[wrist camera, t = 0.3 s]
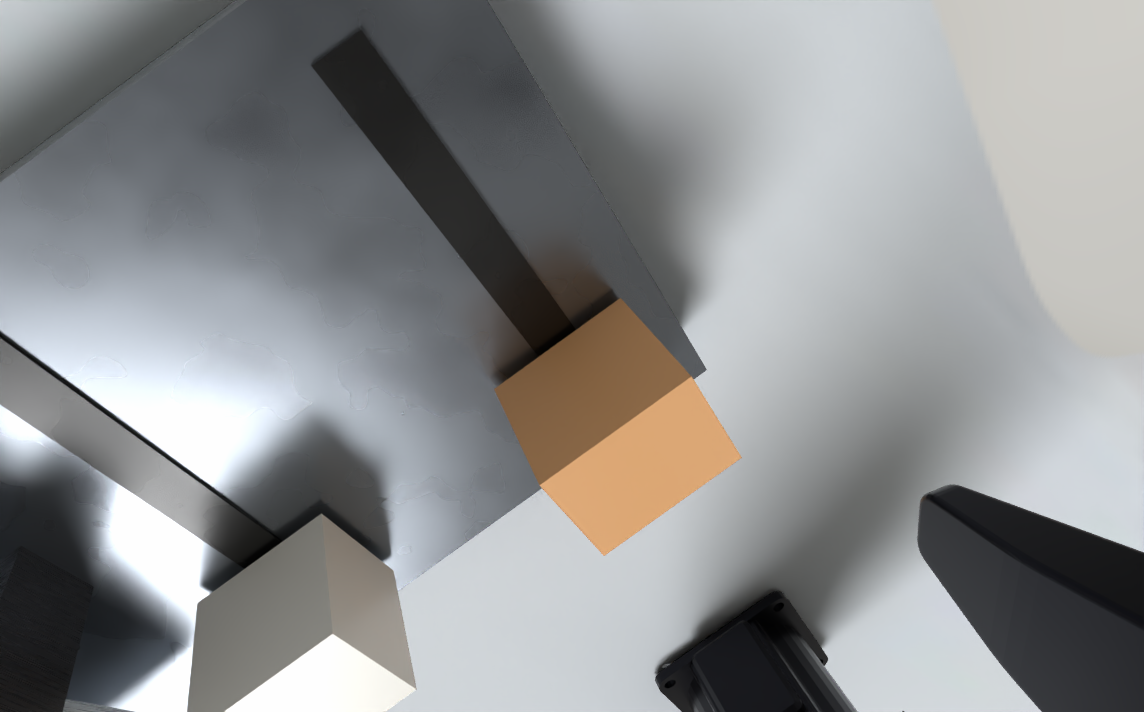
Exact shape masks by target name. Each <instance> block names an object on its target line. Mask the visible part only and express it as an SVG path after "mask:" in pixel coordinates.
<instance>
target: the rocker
mask: <svg viewBox="0 0 1144 712" xmlns="http://www.w3.org/2000/svg"><path fill="white" fill-rule="evenodd" d="M63 712H134V711H129V710H123V709H118V708H112V707H107V706H101V705H96V704H90V703H85V702H79V701H74V700H68V699H66V700H65V704H64V708H63Z"/></svg>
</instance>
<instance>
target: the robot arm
mask: <svg viewBox="0 0 1144 712" xmlns="http://www.w3.org/2000/svg"><path fill="white" fill-rule="evenodd" d="M917 542H918V547H919V550H920V553H921V555H922V556H923V558H924V560H925V561H926V563H927V564H928V566H929V567H930V568H931V570H932V571H933V573H934V574H935V575H936V577H937V578H938V579H939V581H940V582H941V584H942V585H943V586H944V588H945V589H946V590H947V592H948V593H949V595H950V596H951V597H952V599H953V600H954V601H955V603H956V604H957V606H958V607H959V608H960V610H961V611H962V613H963V614H964V615H965V617H966V618H967V619H968V621H969V622H970V624H971V625H972V626H973V628H974V629H975V630H976V632H977V633H978V635H979V636H980V637H981V639H982V640H983V641H984V643H985V644H986V646H987V647H988V648H989V650H990V651H991V652H992V654H993V655H994V656H995V657H996V659H997V660H998V661H999V663H1000V664H1001V665H1002V667H1003V668H1004V669H1005V670H1006V671H1007V672H1008V674H1009V675H1010V676H1011V677H1012V678H1013V680H1014V681H1015V682H1016V683H1017V684H1018V685H1019V686H1020V688H1021V689H1022V690H1023V691H1024V692H1025V693H1026V694H1027V696H1028V697H1029V698H1030V699H1031V700H1032V701H1033V702H1034V703H1035V705H1036V706H1037V707H1038V708H1039V709H1040V710H1041V711H1042V712H1144V552H1141V551H1138V550H1136V549H1133V548H1130V547H1127V546H1125V545H1122V544H1119V543H1116V542H1114V541H1111V540H1108V539H1105V538H1103V537H1100V536H1097V535H1094V534H1092V533H1089V532H1086V531H1083V530H1081V529H1078V528H1075V527H1072V526H1070V525H1067V524H1064V523H1061V522H1059V521H1056V520H1053V519H1050V518H1048V517H1045V516H1042V515H1039V514H1037V513H1034V512H1031V511H1028V510H1026V509H1023V508H1020V507H1017V506H1015V505H1012V504H1009V503H1006V502H1004V501H1001V500H998V499H995V498H993V497H990V496H987V495H984V494H982V493H979V492H976V491H973V490H971V489H968V488H965V487H962V486H959V485H947V486H944V487H941V488H939V489H937V490H934V491H932V492H929V493H927V494H925V495H924V496H923V497H922V499H921V501H920V509H919V523H918V536H917ZM827 661H828V657H827V656H826V654H825V653H824V651H823V650H822V648H821V647H820V645H819V644H818V642H817V641H816V640H815V638H814V637H813V635H812V634H811V632H810V631H809V629H808V628H807V626H806V625H805V623H804V622H803V621H802V619H801V618H800V616H799V615H798V613H797V612H796V610H795V609H794V607H793V606H792V604H791V603H790V602H789V600H788V599H787V597H786V596H785V595H784V593H782V592H781V591H776V592H773V593H771V594H769V595H768V596H766V597H765V598H764V599H762V600H761V601H759V602H758V603H757V604H755V605H754V606H752V607H751V608H749V609H748V610H747V611H745V612H744V613H742V614H741V615H740V616H738V617H737V618H735V619H734V620H733V621H731V622H730V623H728V624H727V625H725V626H724V627H723V628H721V629H720V630H718V631H717V632H716V633H714V634H713V635H711V636H710V637H709V638H707V639H706V640H704V641H703V642H701V643H700V644H699V645H697V646H696V647H694V648H693V649H692V650H690V651H689V652H687V653H686V654H685V655H683V656H682V657H680V658H679V659H677V660H676V661H675V662H673V663H672V664H670V665H669V666H668V667H666V668H665V669H663V670H662V671H661V672H660V673H658V674H657V676H656V678H655V681H656V683H657V685H658V687H659V689H660V691H661V692H662V693H663V694H664V695H665V696H666V697H667V698H668V699H669V700H670V701H671V702H672V703H673V704H674V705H675V706H677V707H678V708H679V709H680V710H681V711H682V712H857V710H856V709H855V708H854V706H853V705H852V704H851V702H850V701H849V699H848V698H847V697H846V695H845V694H844V693H843V691H842V690H841V689H840V687H839V686H838V684H837V683H836V682H835V680H834V679H833V678H832V676H831V675H830V674H829V672H828V671H827V669H826V668H825V667H824V666H825V664H826V663H827ZM902 712H904V711H902Z"/></svg>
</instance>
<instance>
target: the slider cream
mask: <svg viewBox="0 0 1144 712" xmlns="http://www.w3.org/2000/svg"><path fill="white" fill-rule="evenodd" d="M415 690H417V689H416V684H415V679H414V673H413V668H412V663H411V658H410V653H409V648H408V642H407V637H406V632H405V627H404V622H403V617H402V611H401V606H400V601H399V596H398V591H397V586H396V580H395V575H394V571H393V570H392V569H391V568H390V567H388V566H387V565H386V564H385V563H383V562H382V561H381V560H380V559H378V558H377V557H376V556H375V555H373V554H372V553H371V552H369V551H368V550H367V549H366V548H364V547H363V546H362V545H361V544H359V543H358V542H357V541H356V540H354V539H353V538H352V537H351V536H349V535H348V534H347V533H345V532H344V531H343V530H342V529H340V528H339V527H338V526H337V525H335V524H334V523H333V522H332V521H330V520H329V519H328V518H327V517H325V516H324V515H323V514H320V515H319V516H317V517H316V518H315V519H313V520H312V521H310V522H309V523H308V524H306V525H305V526H304V527H302V528H301V529H299V530H298V531H297V532H295V533H294V534H292V535H291V536H290V537H288V538H287V539H285V540H284V541H283V542H281V543H280V544H279V545H277V546H276V547H274V548H273V549H272V550H270V551H269V552H267V553H266V554H265V555H263V556H262V557H261V558H259V559H258V560H256V561H255V562H254V563H252V564H251V565H249V566H248V567H247V568H245V569H244V570H242V571H241V572H240V573H238V574H237V575H236V576H234V577H233V578H231V579H230V580H229V581H227V582H226V583H224V584H223V585H222V586H220V587H219V588H218V589H216V590H215V591H213V592H212V593H211V594H209V595H208V596H206V597H205V598H204V599H202V600H201V601H200V602H198V603H197V611H196V621H195V632H194V642H193V653H192V663H191V673H190V684H189V694H188V705H187V712H386V711H387V710H389V709H390V708H391V707H393V706H394V705H396V704H397V703H398V702H400V701H401V700H403V699H404V698H405V697H407V696H408V695H410V694H411V693H412V692H414V691H415Z"/></svg>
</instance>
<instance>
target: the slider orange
mask: <svg viewBox="0 0 1144 712" xmlns="http://www.w3.org/2000/svg"><path fill="white" fill-rule="evenodd" d="M494 390H495V392H496V395H497V397H498V399H499V401H500V403H501V405H502V407H503V409H504V411H505V414H506V416H507V418H508V420H509V422H510V424H511V426H512V428H513V430H514V433H515V435H516V437H517V439H518V441H519V443H520V445H521V447H522V450H523V452H524V454H525V456H526V458H527V460H528V462H529V464H530V466H531V469H532V471H533V473H534V475H535V477H536V479H537V481H538V483H539V486H540V487H541V488H542V489H543V490H544V491H545V492H546V493H547V494H548V495H549V496H550V498H551V499H552V500H553V501H554V502H555V503H556V504H557V505H558V506H559V507H560V508H561V509H562V511H563V512H564V513H565V514H566V515H567V516H568V517H569V518H570V519H571V520H572V521H573V523H574V524H575V525H576V526H577V527H578V528H579V529H580V530H581V531H582V532H583V533H584V535H585V536H586V537H587V538H588V539H589V540H590V541H591V542H592V543H593V544H594V545H595V547H596V548H597V549H598V550H599V551H600V552H601V553H602V554H603V555H604V556H605V555H606V554H607V553H609V552H610V551H612V550H613V549H614V548H616V547H617V546H619V545H620V544H621V543H623V542H624V541H626V540H627V539H628V538H630V537H631V536H633V535H634V534H635V533H637V532H638V531H640V530H641V529H642V528H644V527H645V526H647V525H648V524H649V523H651V522H652V521H654V520H655V519H656V518H658V517H659V516H661V515H662V514H663V513H665V512H666V511H668V510H669V509H670V508H672V507H673V506H675V505H676V504H677V503H679V502H680V501H682V500H683V499H684V498H686V497H687V496H689V495H690V494H691V493H693V492H694V491H696V490H697V489H698V488H700V487H701V486H703V485H704V484H705V483H707V482H708V481H710V480H711V479H712V478H714V477H715V476H717V475H718V474H719V473H721V472H722V471H724V470H725V469H726V468H728V467H729V466H731V465H732V464H734V463H735V462H736V461H738V460H739V459H741V458H742V457H741V456H740V454H739V452H738V451H737V449H736V448H735V446H734V444H733V443H732V441H731V439H730V438H729V436H728V435H727V433H726V431H725V430H724V428H723V427H722V425H721V423H720V422H719V420H718V418H717V417H716V415H715V414H714V412H713V410H712V409H711V407H710V405H709V404H708V402H707V401H706V399H705V397H704V396H703V394H702V393H701V391H700V389H699V388H698V386H697V384H696V383H695V381H694V380H693V378H692V376H691V375H690V374H689V373H688V372H687V371H686V370H685V369H684V368H683V366H682V365H681V364H680V363H679V362H678V361H677V360H676V359H675V358H674V356H673V355H672V354H671V353H670V352H669V351H668V350H667V349H666V348H665V346H664V345H663V344H662V343H661V342H660V341H659V340H658V339H657V338H656V337H655V335H654V334H653V333H652V332H651V331H650V330H649V329H648V328H647V327H646V325H645V324H644V323H643V322H642V321H641V320H640V319H639V318H638V317H637V315H636V314H635V313H634V312H633V311H632V310H631V309H630V308H629V307H628V306H627V304H626V303H625V302H624V301H623V300H622V299H621V298H620V299H618V300H617V301H616V302H614V303H613V304H611V305H610V306H609V307H607V308H606V309H604V310H603V311H602V312H600V313H599V314H598V315H596V316H595V317H593V318H592V319H591V320H589V321H588V322H586V323H585V324H584V325H582V326H581V327H579V328H578V329H577V330H575V331H574V332H573V333H571V334H570V335H568V336H567V337H566V338H564V339H563V340H561V341H560V342H559V343H557V344H556V345H555V346H553V347H552V348H550V349H549V350H548V351H546V352H545V353H543V354H542V355H541V356H539V357H538V358H537V359H535V360H534V361H532V362H531V363H530V364H528V365H527V366H525V367H524V368H523V369H521V370H520V371H518V372H517V373H516V374H514V375H513V376H512V377H510V378H509V379H507V380H506V381H505V382H503V383H502V384H500V385H499V386H498V387H496V388H495V389H494Z"/></svg>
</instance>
